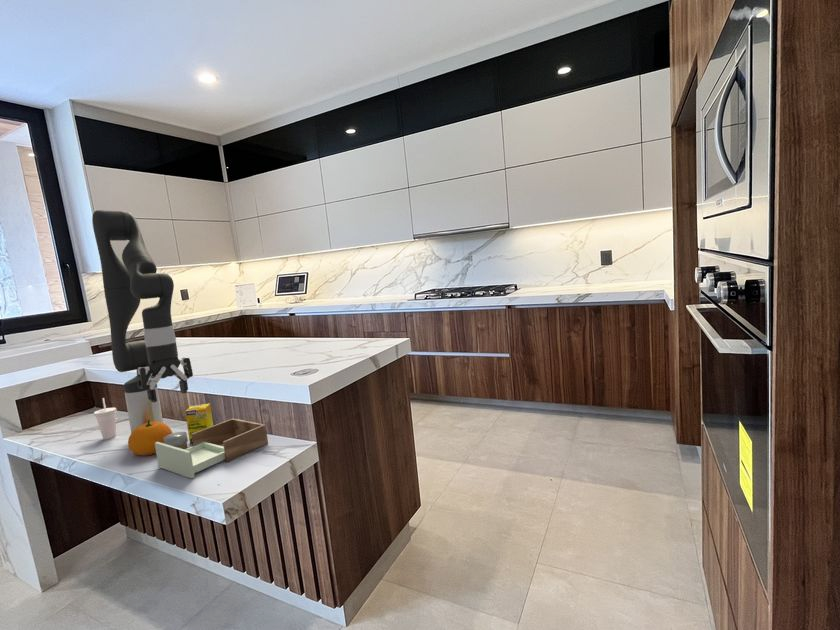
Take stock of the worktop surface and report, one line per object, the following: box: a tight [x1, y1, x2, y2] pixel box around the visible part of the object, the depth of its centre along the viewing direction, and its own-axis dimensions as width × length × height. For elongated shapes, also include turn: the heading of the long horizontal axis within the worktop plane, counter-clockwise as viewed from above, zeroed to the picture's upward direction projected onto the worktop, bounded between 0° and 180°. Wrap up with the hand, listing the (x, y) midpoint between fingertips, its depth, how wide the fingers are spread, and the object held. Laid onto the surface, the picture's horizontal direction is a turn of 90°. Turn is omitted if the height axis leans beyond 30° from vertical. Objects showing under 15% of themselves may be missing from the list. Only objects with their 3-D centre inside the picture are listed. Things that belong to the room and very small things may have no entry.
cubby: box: [192, 418, 269, 463], centre depth 128 cm, size 17×14×6 cm
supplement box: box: [185, 403, 214, 444], centre depth 137 cm, size 6×6×11 cm
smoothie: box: [93, 397, 118, 440], centre depth 147 cm, size 6×6×14 cm
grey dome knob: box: [163, 431, 189, 447], centre depth 125 cm, size 6×6×2 cm
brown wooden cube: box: [177, 441, 189, 450], centre depth 125 cm, size 4×4×4 cm
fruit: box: [127, 420, 173, 456], centre depth 131 cm, size 12×12×10 cm
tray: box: [155, 442, 225, 479], centre depth 119 cm, size 17×13×7 cm
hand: (169, 397), depth 123 cm, fingers open, 8 cm apart
